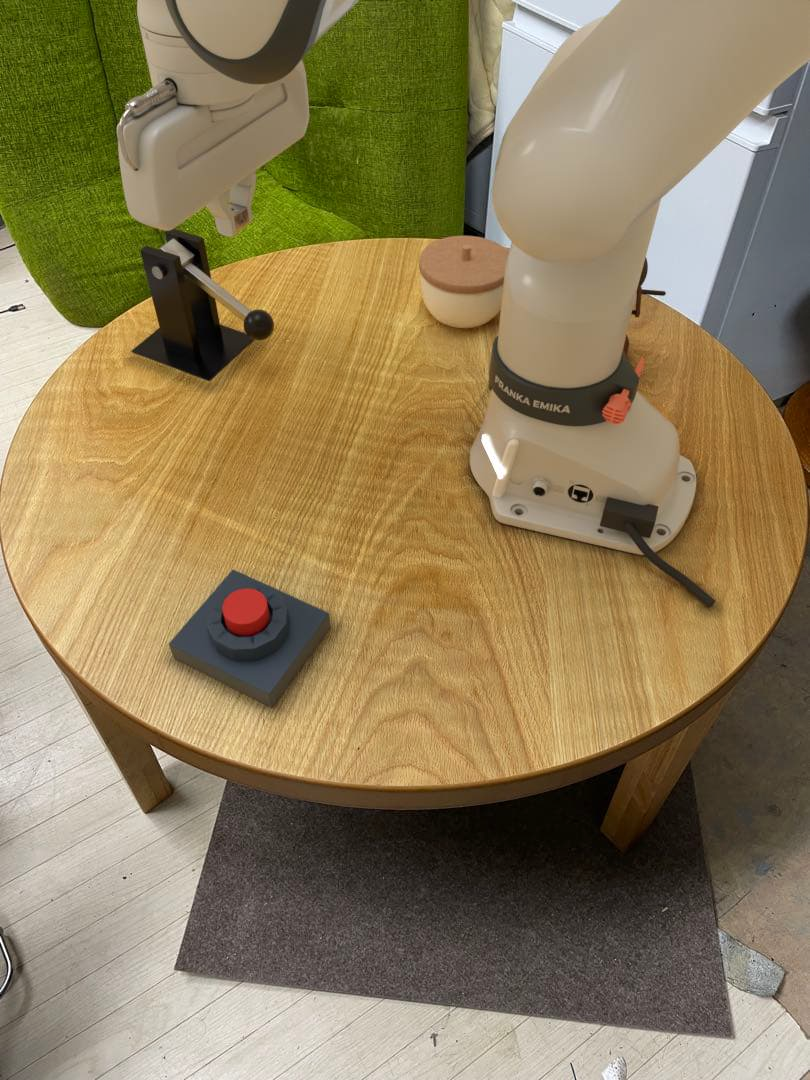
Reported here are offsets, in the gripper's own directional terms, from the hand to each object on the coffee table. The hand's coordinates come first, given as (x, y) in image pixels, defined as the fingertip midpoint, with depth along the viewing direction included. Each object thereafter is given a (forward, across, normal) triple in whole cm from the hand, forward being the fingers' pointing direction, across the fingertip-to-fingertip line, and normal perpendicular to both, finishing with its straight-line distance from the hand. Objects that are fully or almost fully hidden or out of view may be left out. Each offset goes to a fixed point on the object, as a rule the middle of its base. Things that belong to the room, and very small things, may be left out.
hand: (235, 228), depth 76 cm
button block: (+22, -24, -16) cm, 36 cm away
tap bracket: (+22, +6, +14) cm, 27 cm away
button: (+19, -24, -16) cm, 34 cm away
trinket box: (+22, +27, -10) cm, 36 cm away
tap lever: (+14, +6, +10) cm, 18 cm away
